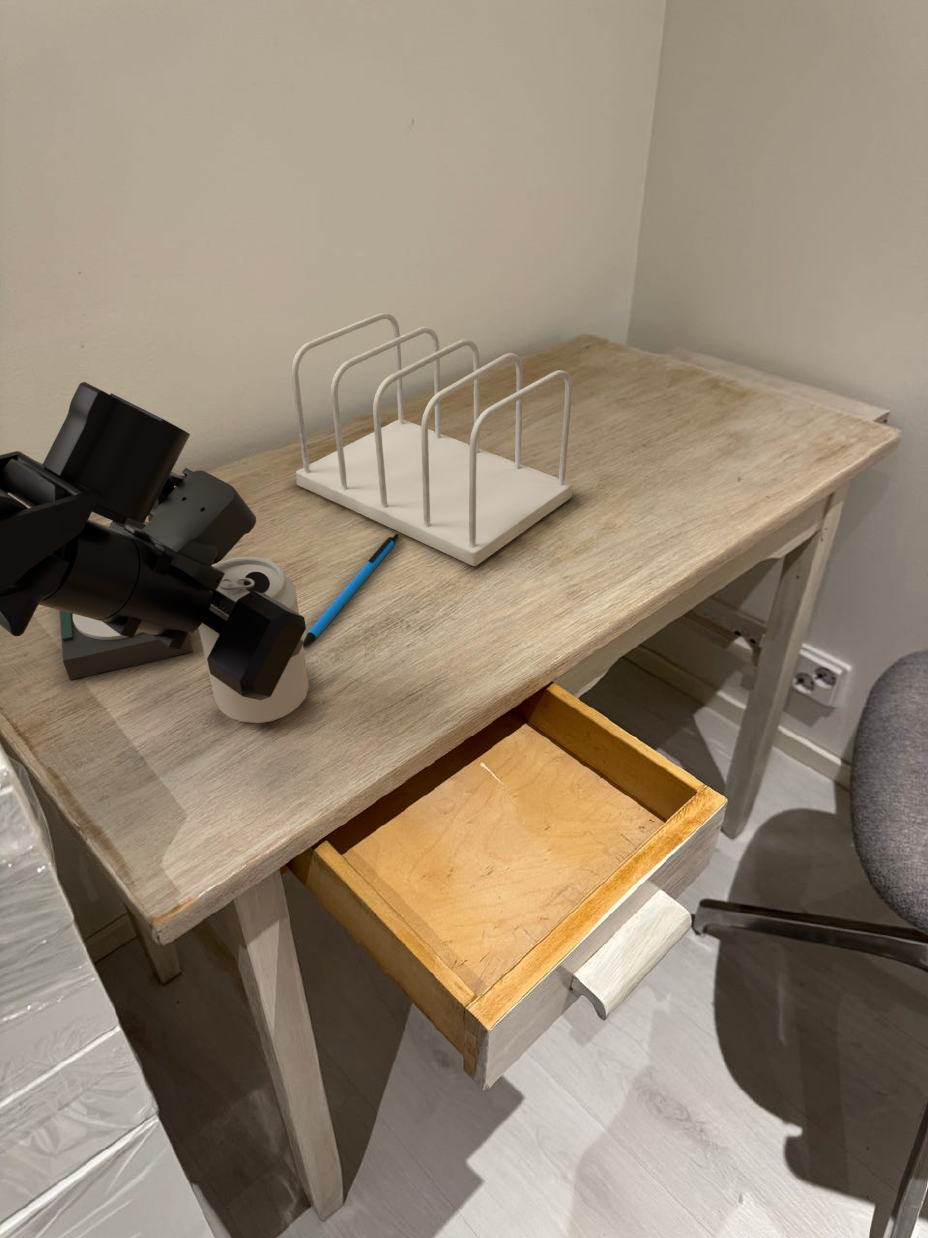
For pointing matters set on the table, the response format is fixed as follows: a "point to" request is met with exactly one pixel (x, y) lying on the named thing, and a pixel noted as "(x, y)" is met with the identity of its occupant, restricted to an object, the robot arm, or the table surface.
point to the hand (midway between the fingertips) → (266, 626)
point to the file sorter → (434, 461)
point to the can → (294, 680)
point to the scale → (107, 647)
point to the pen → (350, 590)
